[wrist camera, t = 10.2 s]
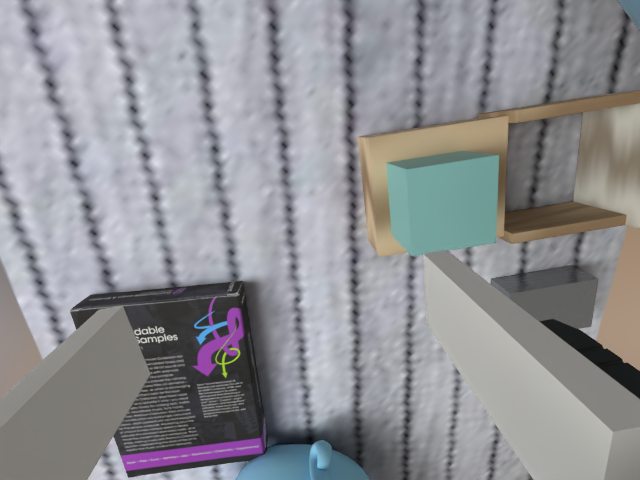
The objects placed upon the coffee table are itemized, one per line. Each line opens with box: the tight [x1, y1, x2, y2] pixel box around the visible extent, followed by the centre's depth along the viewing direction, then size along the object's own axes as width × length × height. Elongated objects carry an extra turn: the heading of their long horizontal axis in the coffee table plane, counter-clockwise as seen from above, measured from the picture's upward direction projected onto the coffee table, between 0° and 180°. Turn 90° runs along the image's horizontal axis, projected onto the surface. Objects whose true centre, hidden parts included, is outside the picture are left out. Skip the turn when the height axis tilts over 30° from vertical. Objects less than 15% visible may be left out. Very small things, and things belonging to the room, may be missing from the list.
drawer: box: [358, 90, 640, 257], centre depth 25 cm, size 10×20×6 cm, turn 98°
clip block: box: [386, 151, 499, 256], centre depth 22 cm, size 6×6×4 cm
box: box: [70, 281, 267, 477], centre depth 31 cm, size 14×4×20 cm
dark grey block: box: [491, 266, 598, 329], centre depth 31 cm, size 5×8×3 cm, turn 98°
